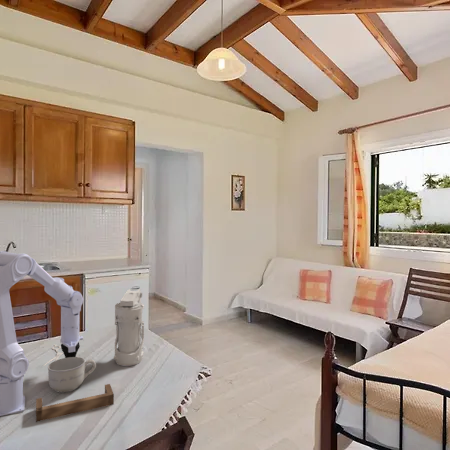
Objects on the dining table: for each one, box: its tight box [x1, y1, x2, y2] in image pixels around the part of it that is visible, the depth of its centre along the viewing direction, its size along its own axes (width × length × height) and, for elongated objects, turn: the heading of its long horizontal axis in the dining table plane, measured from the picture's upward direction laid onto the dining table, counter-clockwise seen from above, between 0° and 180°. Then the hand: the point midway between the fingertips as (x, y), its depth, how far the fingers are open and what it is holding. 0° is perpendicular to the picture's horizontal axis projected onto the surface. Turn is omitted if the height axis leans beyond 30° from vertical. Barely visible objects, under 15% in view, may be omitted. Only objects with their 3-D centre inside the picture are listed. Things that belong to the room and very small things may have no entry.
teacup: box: [47, 356, 97, 393], centre depth 112 cm, size 14×11×8 cm
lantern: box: [113, 288, 145, 367], centre depth 133 cm, size 13×10×25 cm
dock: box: [35, 383, 115, 423], centre depth 102 cm, size 20×7×3 cm, turn 117°
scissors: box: [42, 343, 64, 367], centre depth 135 cm, size 11×1×20 cm
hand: (70, 365), depth 120 cm, fingers closed
